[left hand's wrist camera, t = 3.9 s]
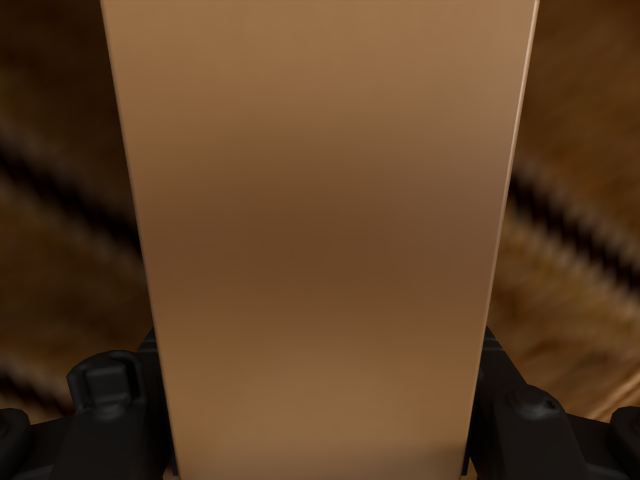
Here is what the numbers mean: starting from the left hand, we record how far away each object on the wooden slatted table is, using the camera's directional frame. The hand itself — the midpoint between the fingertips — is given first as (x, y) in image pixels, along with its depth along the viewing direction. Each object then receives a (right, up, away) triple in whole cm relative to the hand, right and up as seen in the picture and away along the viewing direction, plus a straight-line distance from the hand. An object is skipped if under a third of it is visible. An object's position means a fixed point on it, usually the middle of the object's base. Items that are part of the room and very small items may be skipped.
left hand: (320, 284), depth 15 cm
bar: (0, +9, -3) cm, 9 cm away
